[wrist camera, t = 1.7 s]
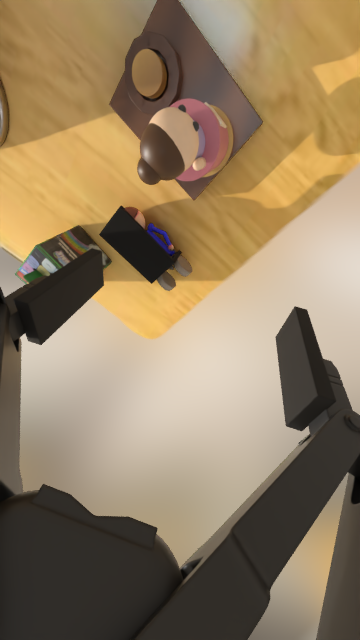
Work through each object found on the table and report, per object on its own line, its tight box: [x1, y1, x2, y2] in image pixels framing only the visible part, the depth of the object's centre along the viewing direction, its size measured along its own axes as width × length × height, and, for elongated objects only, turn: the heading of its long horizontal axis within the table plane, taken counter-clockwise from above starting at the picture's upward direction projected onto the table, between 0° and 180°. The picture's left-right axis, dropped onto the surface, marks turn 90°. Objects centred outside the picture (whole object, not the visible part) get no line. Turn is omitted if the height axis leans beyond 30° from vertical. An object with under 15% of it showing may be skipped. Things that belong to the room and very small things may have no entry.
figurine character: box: [99, 206, 192, 291], centre depth 39 cm, size 7×8×15 cm
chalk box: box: [15, 225, 112, 284], centre depth 42 cm, size 9×9×15 cm
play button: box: [132, 49, 167, 98], centre depth 26 cm, size 4×4×2 cm
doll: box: [137, 98, 233, 185], centre depth 22 cm, size 7×7×17 cm
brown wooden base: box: [109, 0, 263, 200], centre depth 29 cm, size 16×12×4 cm
